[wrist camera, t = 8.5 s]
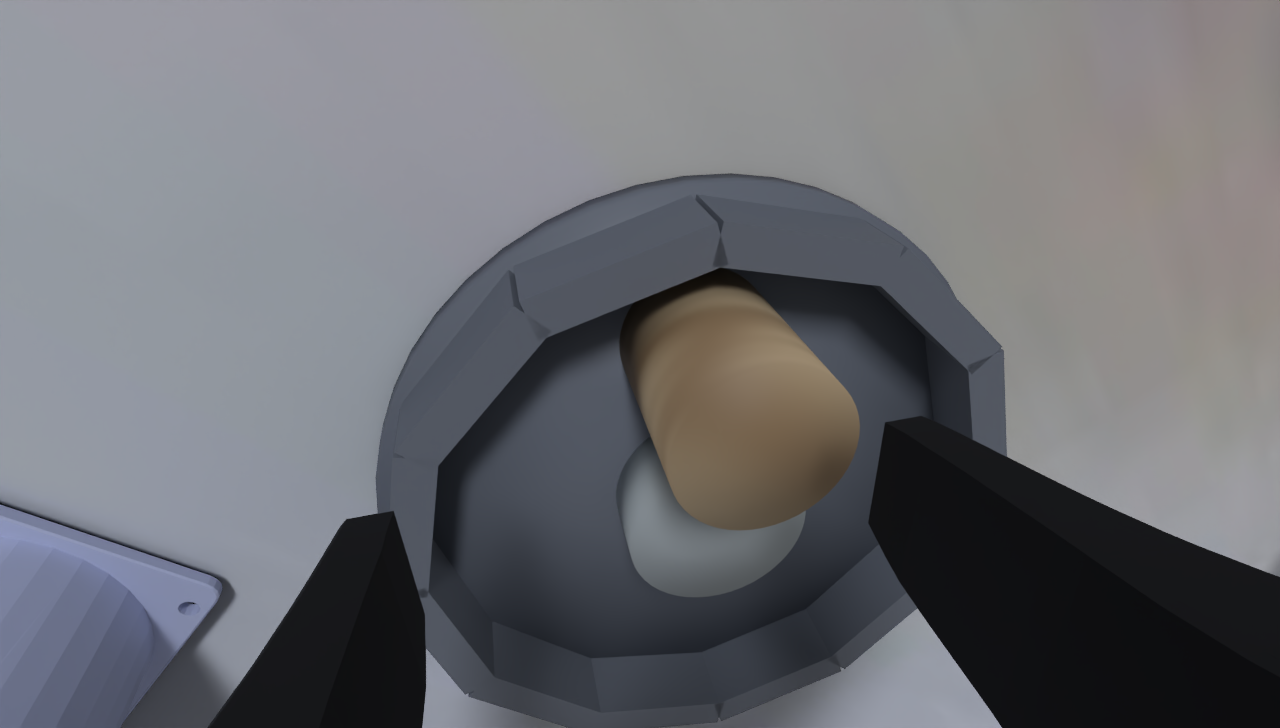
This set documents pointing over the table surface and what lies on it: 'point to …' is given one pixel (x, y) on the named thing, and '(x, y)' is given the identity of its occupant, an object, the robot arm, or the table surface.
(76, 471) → the table surface
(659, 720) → the ring tray
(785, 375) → the bead
